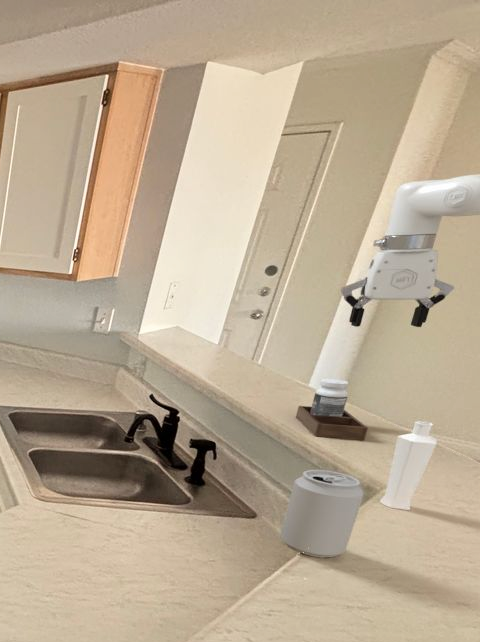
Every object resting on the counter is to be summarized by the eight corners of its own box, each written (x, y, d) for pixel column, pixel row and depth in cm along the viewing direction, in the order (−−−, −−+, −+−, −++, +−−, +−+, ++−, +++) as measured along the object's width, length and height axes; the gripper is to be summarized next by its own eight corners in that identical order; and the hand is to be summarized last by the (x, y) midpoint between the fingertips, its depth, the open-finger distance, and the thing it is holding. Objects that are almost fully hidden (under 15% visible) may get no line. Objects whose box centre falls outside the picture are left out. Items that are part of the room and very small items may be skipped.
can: (267, 535, 94) (286, 466, 90) (322, 537, 93) (343, 467, 89) (297, 558, 87) (318, 485, 83) (356, 562, 86) (381, 487, 82)
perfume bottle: (423, 511, 99) (454, 427, 94) (393, 510, 100) (422, 427, 95) (400, 499, 103) (429, 419, 98) (371, 499, 104) (398, 419, 99)
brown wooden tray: (339, 420, 144) (343, 408, 143) (364, 440, 131) (368, 427, 130) (295, 417, 148) (298, 405, 147) (314, 436, 135) (318, 423, 134)
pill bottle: (310, 416, 146) (320, 377, 143) (341, 420, 142) (353, 380, 139) (306, 421, 142) (317, 381, 139) (338, 425, 138) (350, 385, 135)
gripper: (358, 246, 124) (337, 327, 130) (476, 242, 116) (449, 328, 121) (346, 246, 130) (327, 323, 136) (457, 241, 122) (432, 324, 128)
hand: (385, 326), depth 129 cm, fingers open, 9 cm apart
